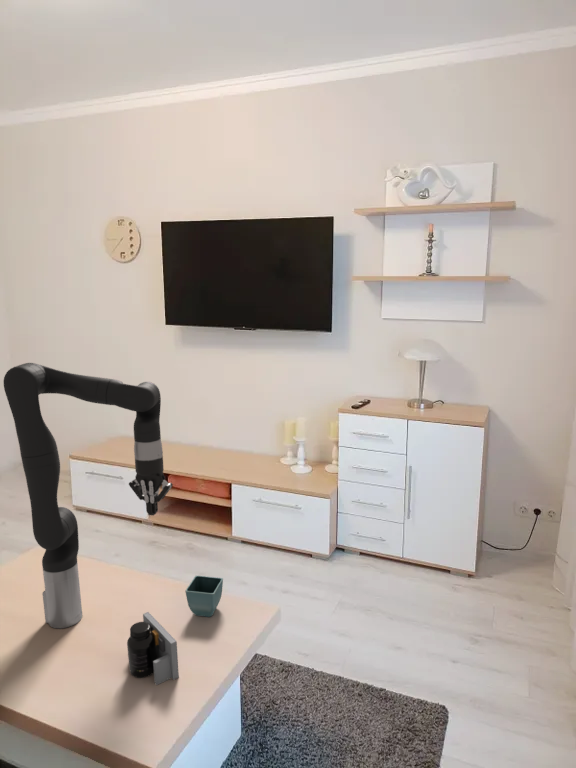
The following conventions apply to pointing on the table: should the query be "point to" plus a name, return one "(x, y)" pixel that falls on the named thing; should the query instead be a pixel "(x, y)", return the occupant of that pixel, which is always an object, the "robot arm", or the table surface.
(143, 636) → the supplement bottle
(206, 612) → the flower pot
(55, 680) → the table surface
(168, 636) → the panel
